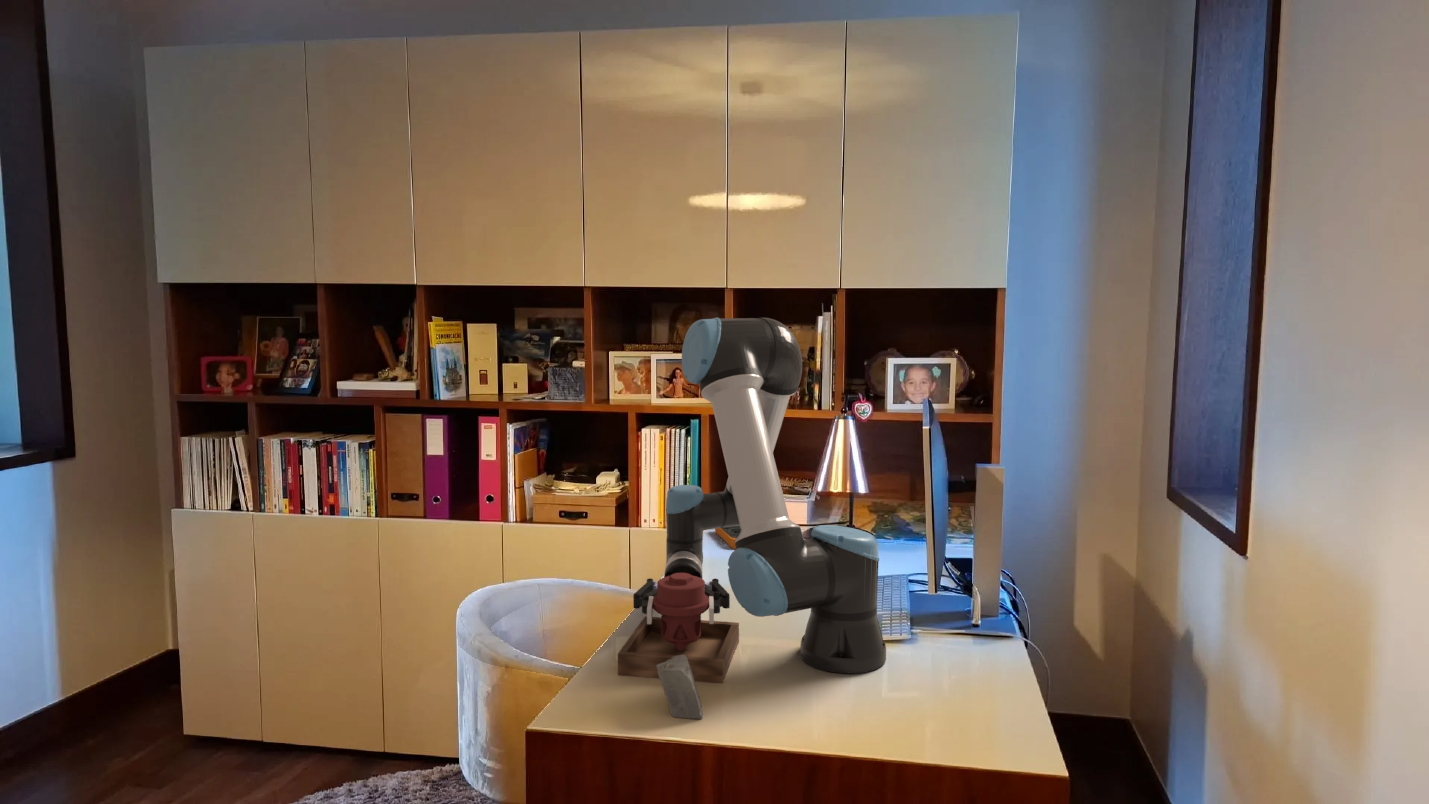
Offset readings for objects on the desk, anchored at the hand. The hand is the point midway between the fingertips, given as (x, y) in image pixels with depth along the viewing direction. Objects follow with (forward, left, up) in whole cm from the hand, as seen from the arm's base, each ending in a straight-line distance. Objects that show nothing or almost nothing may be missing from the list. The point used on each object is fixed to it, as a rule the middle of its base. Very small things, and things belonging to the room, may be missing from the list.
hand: (680, 616), depth 150 cm
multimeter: (+60, -56, -10) cm, 83 cm away
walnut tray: (+4, -2, -9) cm, 10 cm away
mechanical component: (+4, -2, -7) cm, 8 cm away
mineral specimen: (-13, +9, -9) cm, 19 cm away
